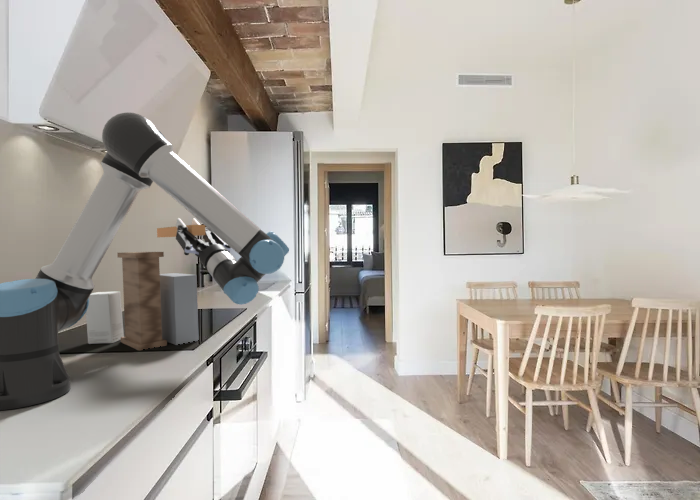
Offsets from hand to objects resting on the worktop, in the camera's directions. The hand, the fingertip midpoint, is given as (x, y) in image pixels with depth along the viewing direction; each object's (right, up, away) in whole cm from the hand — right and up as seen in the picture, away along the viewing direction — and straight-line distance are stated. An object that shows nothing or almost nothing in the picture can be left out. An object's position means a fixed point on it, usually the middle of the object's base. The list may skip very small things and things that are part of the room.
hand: (185, 222), depth 131 cm
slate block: (-6, -37, +8) cm, 38 cm away
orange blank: (-3, -4, +3) cm, 6 cm away
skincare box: (-28, -37, +7) cm, 47 cm away
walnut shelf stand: (-14, -37, +2) cm, 40 cm away
